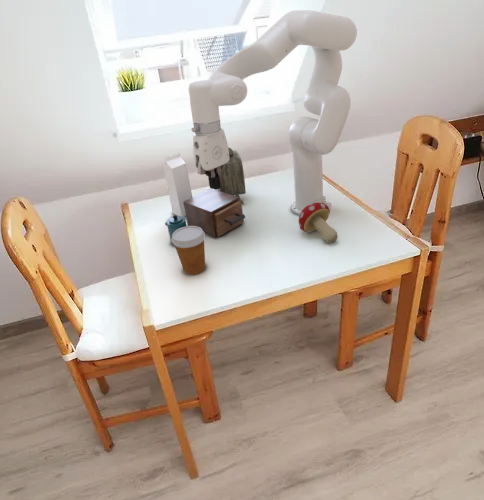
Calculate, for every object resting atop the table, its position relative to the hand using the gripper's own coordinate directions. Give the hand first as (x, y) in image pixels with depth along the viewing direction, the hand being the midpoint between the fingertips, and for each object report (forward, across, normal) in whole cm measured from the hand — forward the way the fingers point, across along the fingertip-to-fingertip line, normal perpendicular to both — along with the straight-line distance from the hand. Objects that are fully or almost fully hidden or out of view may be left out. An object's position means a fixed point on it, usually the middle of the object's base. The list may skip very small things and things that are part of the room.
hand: (215, 187), depth 132 cm
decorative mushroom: (+18, +19, -24) cm, 36 cm away
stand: (+18, +6, +10) cm, 22 cm away
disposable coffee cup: (+19, -16, -5) cm, 25 cm away
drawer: (+17, +6, +6) cm, 19 cm away
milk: (+19, +7, +27) cm, 33 cm away
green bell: (+18, +24, +19) cm, 35 cm away
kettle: (+19, -8, +11) cm, 23 cm away
